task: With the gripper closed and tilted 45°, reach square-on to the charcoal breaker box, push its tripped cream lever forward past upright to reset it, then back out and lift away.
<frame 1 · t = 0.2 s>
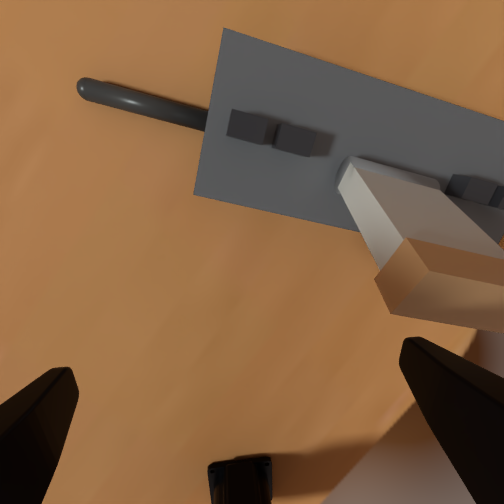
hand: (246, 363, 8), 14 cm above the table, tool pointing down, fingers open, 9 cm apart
breaker box: (346, 175, 21), on the table
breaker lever: (416, 224, 13), point 9 cm above the table, hinge at -20.0°
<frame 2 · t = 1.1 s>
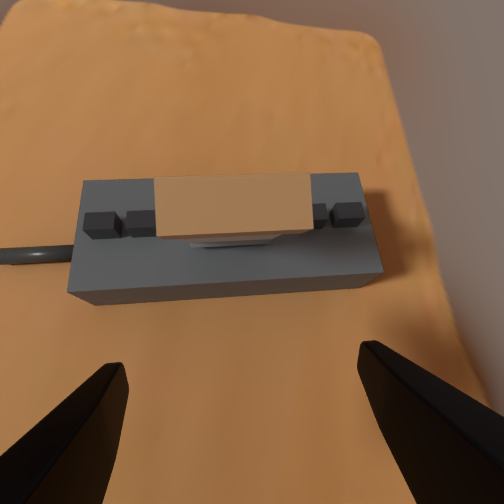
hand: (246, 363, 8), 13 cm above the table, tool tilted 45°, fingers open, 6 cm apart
breaker box: (230, 259, 23), on the table
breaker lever: (232, 221, 15), point 9 cm above the table, hinge at -20.0°
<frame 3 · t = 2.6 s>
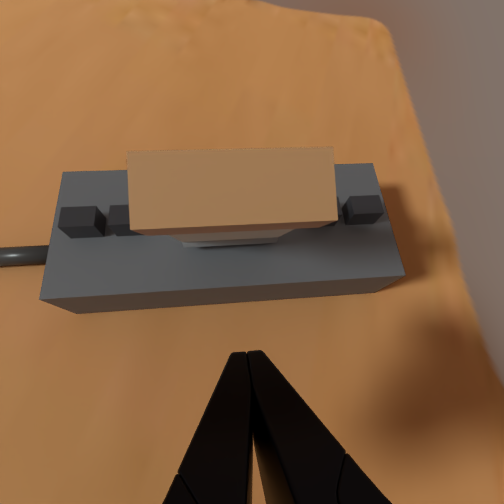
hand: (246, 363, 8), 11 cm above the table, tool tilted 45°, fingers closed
breaker box: (230, 261, 21), on the table
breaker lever: (231, 215, 12), point 9 cm above the table, hinge at -20.0°
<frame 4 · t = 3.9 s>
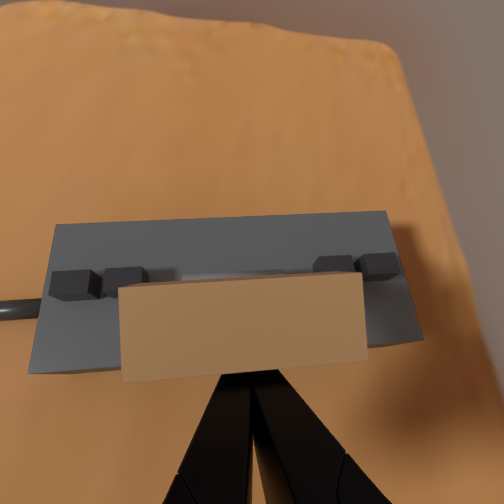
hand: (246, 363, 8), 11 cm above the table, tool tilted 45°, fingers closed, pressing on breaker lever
breaker box: (233, 312, 20), on the table
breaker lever: (237, 300, 11), point 9 cm above the table, hinge at -20.0°, touching gripper
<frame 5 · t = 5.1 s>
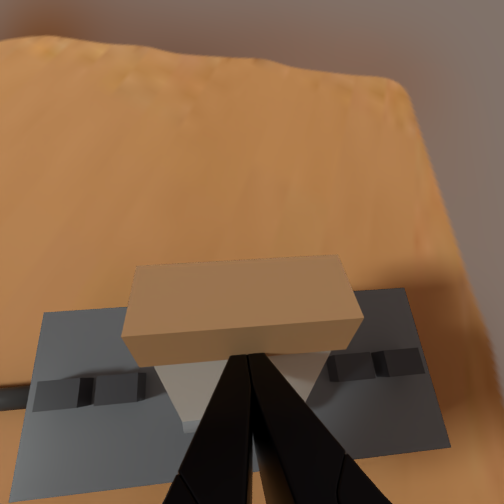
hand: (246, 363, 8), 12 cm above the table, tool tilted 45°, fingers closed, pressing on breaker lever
breaker box: (238, 394, 18), on the table
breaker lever: (242, 368, 11), point 9 cm above the table, hinge at 20.8°, touching gripper
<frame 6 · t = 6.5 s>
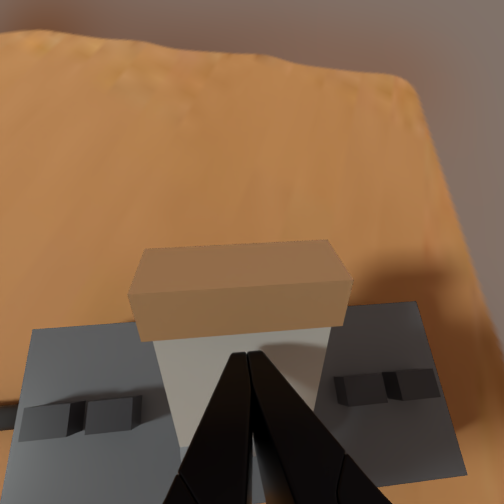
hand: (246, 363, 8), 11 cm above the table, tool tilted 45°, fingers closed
breaker box: (240, 412, 17), on the table
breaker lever: (243, 373, 10), point 8 cm above the table, hinge at 35.7°
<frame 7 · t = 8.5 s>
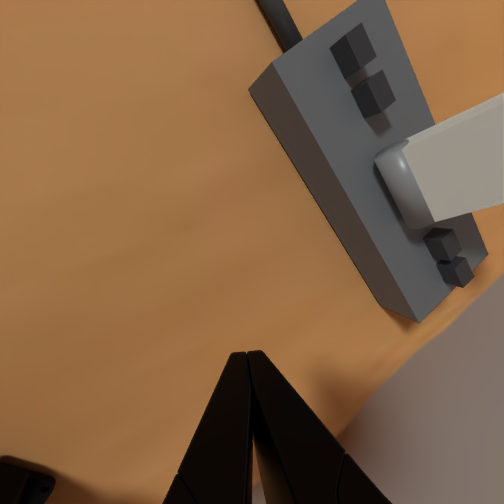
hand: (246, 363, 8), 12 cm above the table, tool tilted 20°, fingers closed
breaker box: (351, 189, 23), on the table
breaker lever: (483, 158, 15), point 8 cm above the table, hinge at 35.7°
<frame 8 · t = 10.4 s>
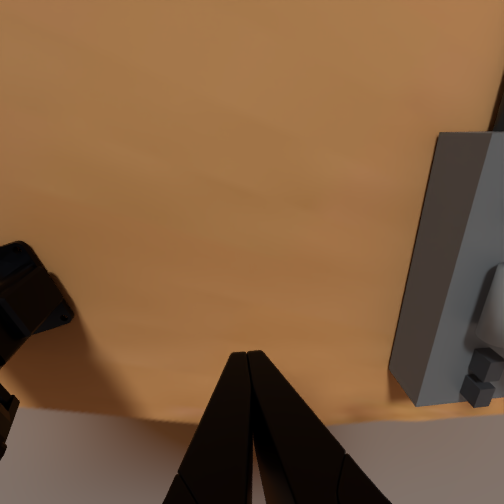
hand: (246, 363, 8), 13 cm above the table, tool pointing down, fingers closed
breaker box: (445, 268, 23), on the table
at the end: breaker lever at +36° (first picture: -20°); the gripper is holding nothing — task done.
